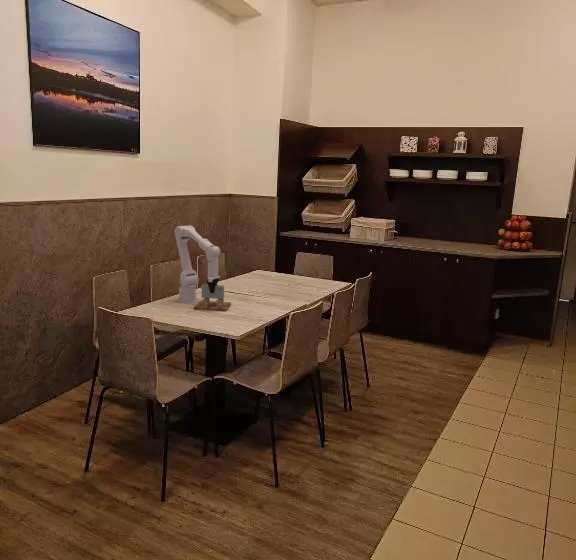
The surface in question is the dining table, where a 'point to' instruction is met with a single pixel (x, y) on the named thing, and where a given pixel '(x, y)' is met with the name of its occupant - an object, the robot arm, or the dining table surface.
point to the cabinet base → (212, 305)
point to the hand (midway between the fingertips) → (212, 292)
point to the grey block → (217, 294)
